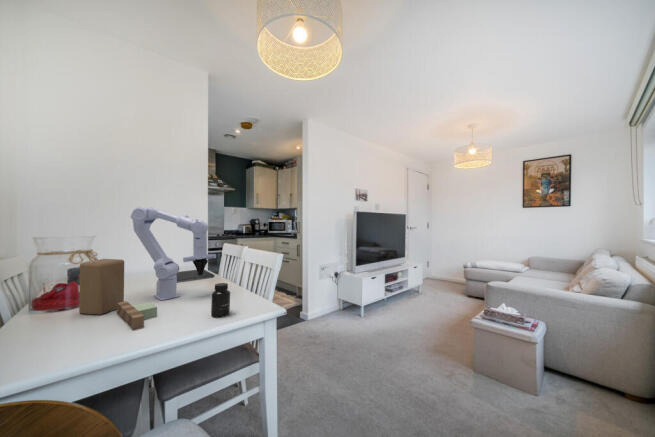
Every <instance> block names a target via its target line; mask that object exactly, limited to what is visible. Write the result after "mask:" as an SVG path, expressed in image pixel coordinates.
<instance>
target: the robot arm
mask: <svg viewBox="0 0 655 437" xmlns="http://www.w3.org/2000/svg"><path fill="white" fill-rule="evenodd" d="M130 218H131V220H132V225H133V226H132V227H133V232H134V233H135V235H136V236H137V237H138V239H139V240H140V242H141V243H142V246H143V247H144V249H145V250H146V251H147V253H148V254H149V256H150V257H151V259H152V261H153V262H154V265H153V269H154V270H155V276H156V278H157V279H158V280H156V290H155V291H156V294H154V295H153V296H154V297H155V298H157V299H158V300H159V301H164V300H169V299H175V298H178V297H181V295H180V294H178V293H177V288H178V287H177V286H178V283H177V278H178V277H177V276H178V275H177V274H179V272H180V266H179V264H178V263H177V262H175V261H174V260H173V259H172V258H170V257H169V256H167V253H166V252H165V251H164V249H163V248H162V246H161V245H160V243H159V242H158V240H157V239H156V237H155V236H154V234H153V233H152V231H151V225H153V223H154V222H155V221H156V220H157V219H161V220H164V221H166V222H171V223H173V224H176V226H177V227H178V228H180V229H184V230H187V231H189V232H191V233H192V234H193V236H192V237H193V242H192V244H193V248H192V250H193V255H192V256H186V257H182V261H183V263H187V262H192V263H193V265H194V267H195V269H196V272H197V276H203V275H204V271H205V268H206V266H207V264H208V263H209V260H210V259H216V258H217V254H216V253H208V249H207V248H208V243H207V242H208V240H207V238H208V236H207V235H208V234H207V232H208V231H209V225H208V223H207V222H205V221H202V220H201V221H199V219H194V218H191V217H189V215H180V216H177V215H174V214H172V213H169V212H167V211H164V210H161V209H158V208H157V209H156V208H154V207H141V206H139V207H135V208H134V209H133V210H132V212H131V215H130Z"/></svg>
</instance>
